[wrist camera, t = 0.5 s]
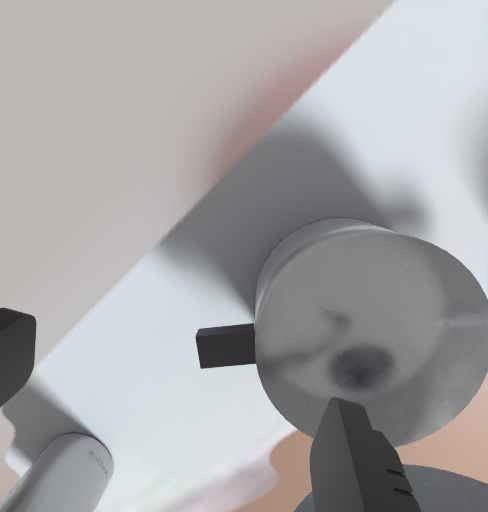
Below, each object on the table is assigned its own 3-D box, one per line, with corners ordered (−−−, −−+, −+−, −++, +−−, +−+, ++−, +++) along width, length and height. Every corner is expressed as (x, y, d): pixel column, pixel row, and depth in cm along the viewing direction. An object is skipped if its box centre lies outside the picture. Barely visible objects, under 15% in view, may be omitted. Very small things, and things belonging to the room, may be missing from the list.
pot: (462, 358, 38) (556, 436, 26) (223, 380, 39) (209, 462, 28) (464, 202, 34) (574, 210, 22) (201, 234, 36) (174, 256, 24)
